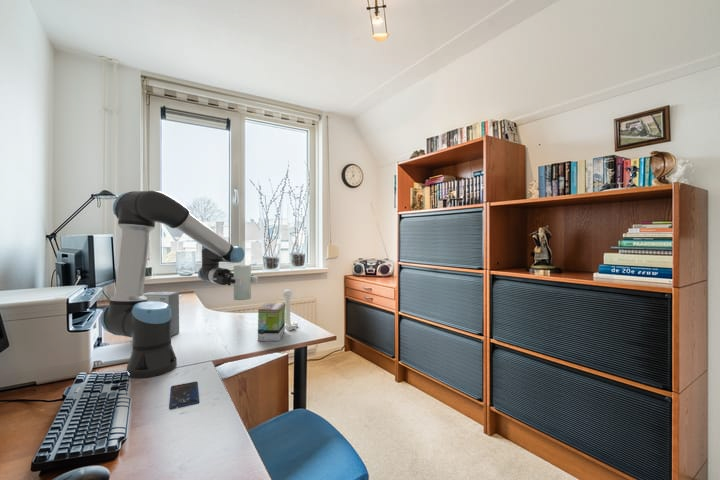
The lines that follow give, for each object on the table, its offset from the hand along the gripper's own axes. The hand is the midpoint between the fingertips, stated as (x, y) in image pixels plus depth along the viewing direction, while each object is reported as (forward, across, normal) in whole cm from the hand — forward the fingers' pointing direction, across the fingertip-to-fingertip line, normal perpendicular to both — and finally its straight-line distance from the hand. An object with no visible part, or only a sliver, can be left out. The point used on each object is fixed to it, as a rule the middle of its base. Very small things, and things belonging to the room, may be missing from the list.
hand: (248, 281), depth 136 cm
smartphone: (+19, +34, -30) cm, 49 cm away
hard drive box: (-50, +16, -29) cm, 60 cm away
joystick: (-12, -32, -29) cm, 45 cm away
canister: (-5, 0, -8) cm, 9 cm away
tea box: (-8, -17, -29) cm, 35 cm away
